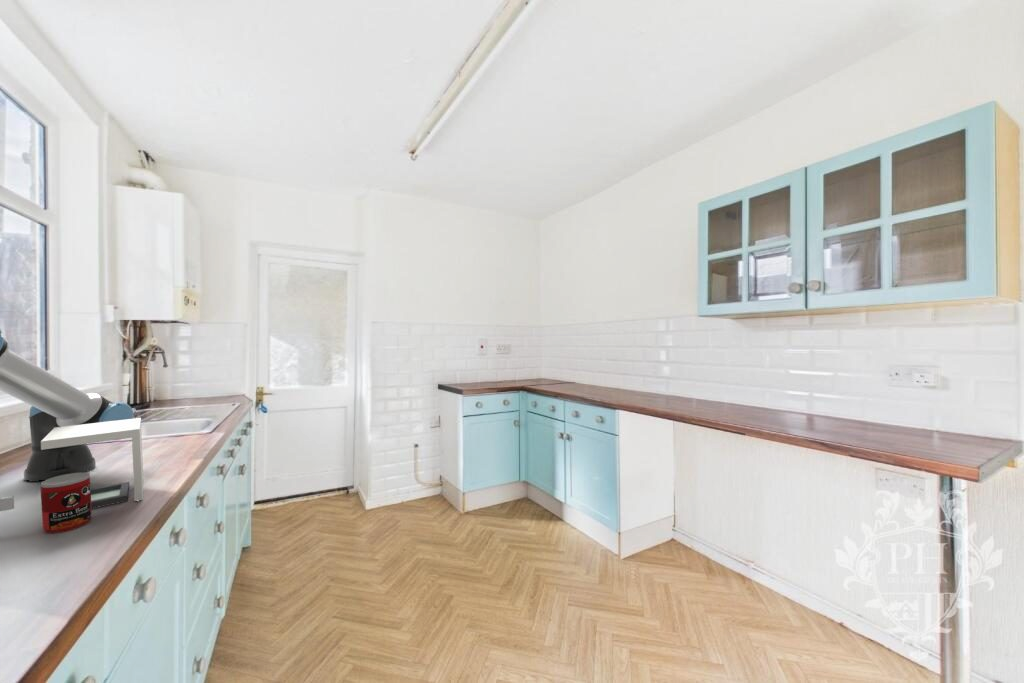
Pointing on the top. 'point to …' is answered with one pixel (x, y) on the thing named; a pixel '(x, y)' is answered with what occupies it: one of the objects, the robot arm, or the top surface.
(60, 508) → the canned food
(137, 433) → the shelf
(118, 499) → the grey picture frame
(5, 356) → the robot arm
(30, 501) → the top surface
